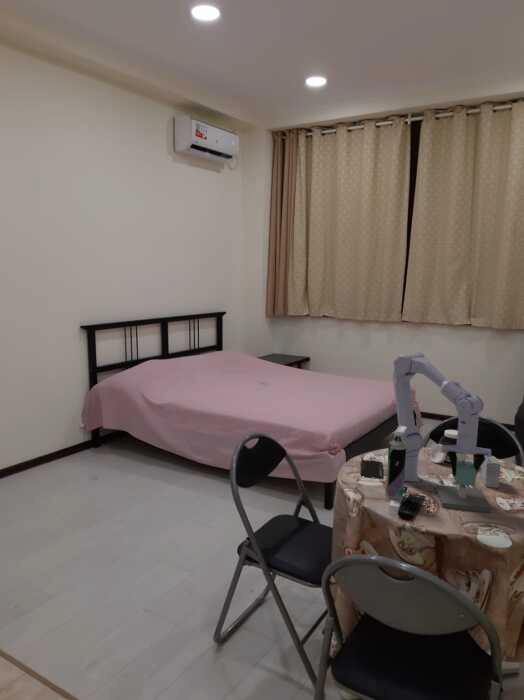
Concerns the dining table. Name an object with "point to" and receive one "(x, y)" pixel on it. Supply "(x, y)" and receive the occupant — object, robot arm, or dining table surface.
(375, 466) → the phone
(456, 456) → the robot arm
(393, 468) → the spray can
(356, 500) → the dining table surface
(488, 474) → the medicine box
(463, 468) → the keyed cap
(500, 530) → the dining table surface
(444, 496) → the key board
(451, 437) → the spread jar
